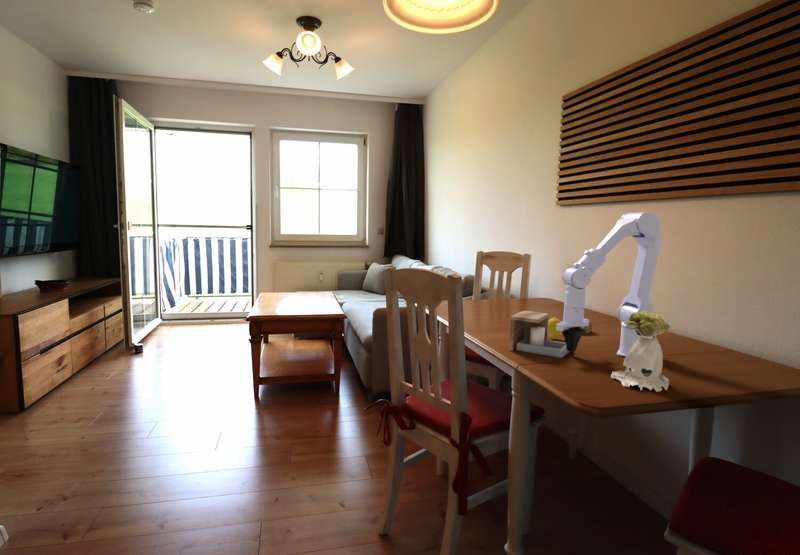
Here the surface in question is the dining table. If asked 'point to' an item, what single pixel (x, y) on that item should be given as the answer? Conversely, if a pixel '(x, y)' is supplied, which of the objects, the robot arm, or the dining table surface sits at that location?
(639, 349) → the potted plant vase
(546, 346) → the tray
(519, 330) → the counter shelf
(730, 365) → the dining table surface
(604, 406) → the dining table surface
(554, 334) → the lemon
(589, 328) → the bread roll
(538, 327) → the beige rounded lump
